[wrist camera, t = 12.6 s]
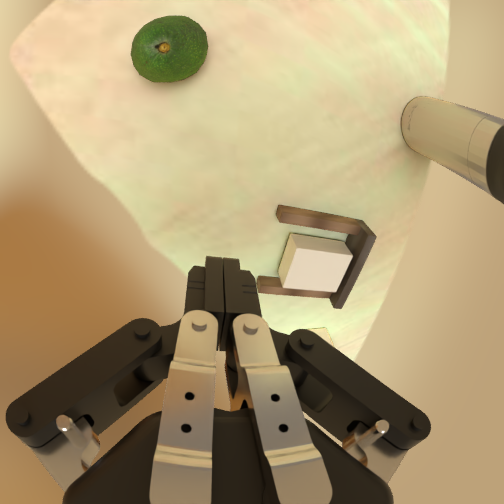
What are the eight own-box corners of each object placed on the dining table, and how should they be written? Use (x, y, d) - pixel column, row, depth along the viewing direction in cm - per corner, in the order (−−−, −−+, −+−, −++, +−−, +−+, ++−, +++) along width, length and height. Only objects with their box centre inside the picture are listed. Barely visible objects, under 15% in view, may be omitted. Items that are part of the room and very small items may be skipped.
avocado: (157, 93, 30) (129, 99, 20) (135, 41, 26) (99, 26, 16) (218, 67, 29) (219, 60, 19) (197, 15, 25) (187, -15, 15)
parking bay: (362, 220, 43) (376, 236, 39) (332, 289, 50) (341, 308, 46) (278, 204, 40) (286, 221, 36) (256, 282, 48) (260, 303, 43)
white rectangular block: (341, 239, 45) (352, 255, 41) (327, 274, 48) (335, 292, 45) (289, 231, 43) (296, 247, 39) (277, 269, 46) (282, 287, 43)
